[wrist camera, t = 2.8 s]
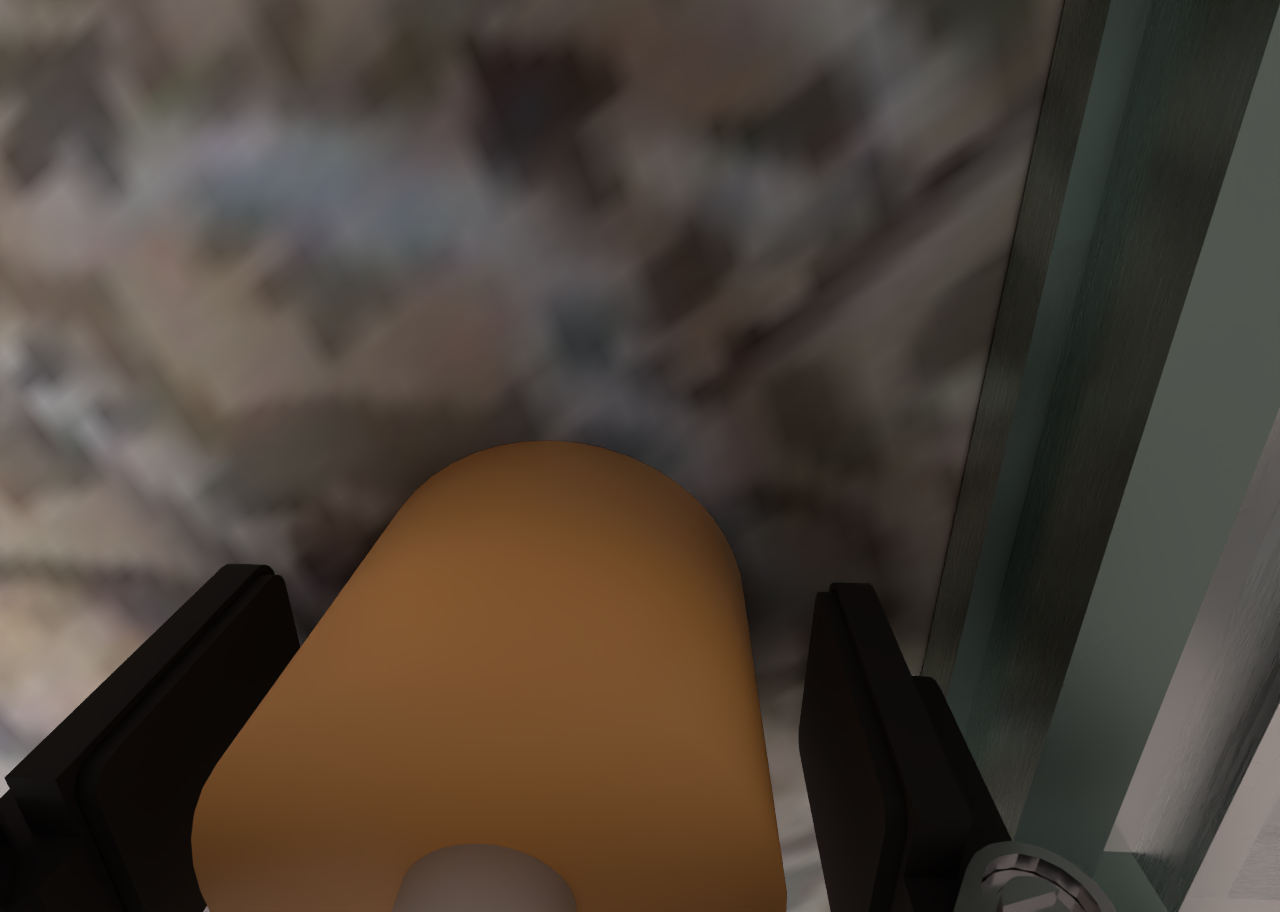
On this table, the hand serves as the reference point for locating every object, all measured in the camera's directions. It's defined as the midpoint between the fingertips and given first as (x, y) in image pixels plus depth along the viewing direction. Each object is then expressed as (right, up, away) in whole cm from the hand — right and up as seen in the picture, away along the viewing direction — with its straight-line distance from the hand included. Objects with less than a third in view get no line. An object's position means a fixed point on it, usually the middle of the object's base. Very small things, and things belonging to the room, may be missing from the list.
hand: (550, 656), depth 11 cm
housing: (0, +1, +1) cm, 1 cm away
